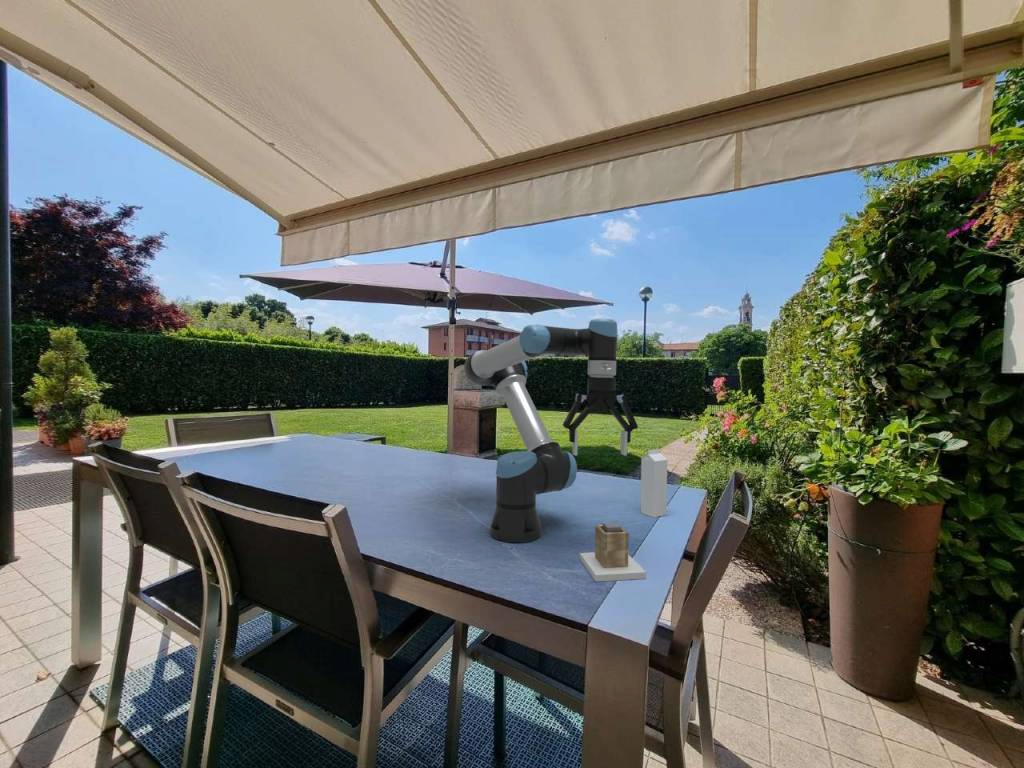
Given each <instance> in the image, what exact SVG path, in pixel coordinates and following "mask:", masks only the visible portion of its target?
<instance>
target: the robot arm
mask: <svg viewBox="0 0 1024 768" xmlns="http://www.w3.org/2000/svg"><path fill="white" fill-rule="evenodd" d="M618 336H619V334H618V323H617V321H616V320H615V319H612V318H593V319H590V321H589V322H588V327H587V328H567V327H558V326H550V325H542V324H529V325H526V326H524V327H523V329H522V330H521V331H520V333H519V335H518V336H515V337H513V338H511V339H509V340H506V341H504V342H503V343H499V344H498V345H495V346H493V347H491V348H489V349H487V350H485V349H481V350H477V351H475V352H473V353H471V354H470V355H468V357H467V358H466V359H465V362H464V374H465V376H466V377H467V378H468V380H469V381H470V382H472V383H473V384H475V385H479V386H484V387H485V386H486V387H487V386H489V387H490V386H491V387H492V386H493V388H494V390H495V392H496V395H499V396H500V397H502V398H503V400H504V402H505V404H506V407H507V408H508V411H509V412H510V415H511V417H512V419H513V422H514V423H515V426H516V428H517V430H518V433H519V435H520V437H521V439H522V441H523V443H524V446H525V449H526V450H520V451H511V452H508V453H505V454H502V455H501V456H500V457H499V458H498V459H497V463H496V469H495V470H496V471H495V475H496V489H495V491H496V493H495V494H496V497H495V500H496V504H495V509H494V513H493V516H492V519H491V523H490V527H489V534H490V533H491V534H490V536H491V535H492V536H494V537H495V538H497V539H499V540H498V541H500V540H503V541H502V542H504V541H508V542H507V543H512V542H521V543H527V542H526V541H529V542H532V540H533V541H536V540H537V539H539V538H540V537H541V536H542V529H543V528H542V527H543V526H542V523H541V521H540V517H539V513H538V511H537V503H536V501H537V495H541V494H547V493H552V492H560V491H562V490H565V489H569V488H570V487H572V486H573V485H574V483H575V480H576V478H577V473H578V464H577V461H576V458H575V457H574V456H578V454H579V453H578V450H579V449H578V444H579V430H577V429H578V427H579V426H580V425H581V424H582V423H583V422H584V420H585V419H586V418H587V417H588V416H589V415H590V413H592V411H595V412H600V411H603V412H608V411H609V412H610V413H611V415H613V417H614V418H615V419H616V421H617V422H618V423H619V424H620V425H621V427H622V428H623V429H622V430H621V429H620V430H621V431H620V454H621V455H622V456H626V457H627V455H628V444H629V443H631V433H632V432H633V430H638V429H639V426H638V424H637V421H636V419H635V417H634V414H633V412H632V410H631V407H630V406H629V404H628V396H627V395H626V394H620V395H616V394H617V393H616V390H617V389H616V388H617V387H616V386H617V385H616V384H617V380H616V378H615V377H614V376H616V375H617V348H618ZM547 354H548V355H561V356H562V355H563V356H568V357H574V356H588V357H587V375H588V378H587V381H586V382H587V389H586V394H585V395H584V394H581V393H576V394H575V397H574V402H573V404H572V406H571V407H570V410H569V411H568V414H567V415H566V417H565V419H564V421H563V423H562V427H563V428H565V429H567V430H568V431H569V432H568V435H569V436H568V437H569V438H568V440H569V442H570V443H572V447H571V448H572V449H571V450H572V451H571V452H572V453H570V452H568V451H566V450H564V451H563V449H562V448H561V446H560V444H559V442H558V441H556V440H555V441H554V440H552V438H551V436H550V435H549V431H548V430H547V427H546V426H545V424H544V422H543V420H542V418H541V416H540V414H539V412H538V410H537V407H536V405H535V404H534V401H533V400H532V398H531V396H530V393H529V392H528V390H527V388H526V384H527V379H528V375H529V374H528V373H529V372H527V371H528V365H527V363H526V361H529V360H531V359H534V358H537V357H540V356H542V355H547ZM584 401H586V402H587V405H586V406H585V407H584V409H583V410H582V411H581V412H580V413H579V415H578V416H576V414H577V412H578V410H579V409H580V406H581V404H582V403H583V402H584ZM616 402H618V403H619V404H620V406H621V409H622V410H623V413H624V415H625V418H626V420H625V418H624V417H623V416H622V414H621V413H620V412H619V410H618V409H617V407H616V406H615V403H616ZM575 416H576V418H575V419H574V417H575ZM573 419H574V420H573ZM627 421H628V422H627ZM492 536H491V537H492ZM495 538H494V539H495ZM497 539H496V540H497Z"/></svg>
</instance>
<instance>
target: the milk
mask: <svg viewBox="0 0 1024 768" xmlns="http://www.w3.org/2000/svg"><path fill="white" fill-rule="evenodd" d="M661 451H662V449H661V448H656V449H655V448H654V449H648V450H647V454H646V455H645V456H642V457H641V460H640V462H641V467H640V468H641V471H640V473H641V475H640V514H643V515H646V516H648V517H650V518H654V519H655V518H660V517H659V516H661V517H664V516H663V515H665V516H667V515H666V514H667V513H668V512H667V511H668V508H667V506H668V505H667V504H668V500H667V499H668V497H667V496H668V459H667V457H665V456H664V455H663V454H662V453H661Z"/></svg>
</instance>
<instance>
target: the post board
mask: <svg viewBox="0 0 1024 768" xmlns="http://www.w3.org/2000/svg"><path fill="white" fill-rule="evenodd" d="M602 525H603V530H604V531H605V532H606V533H612V532H621V527H622V526H621V525H620V524H619V525H620V526H621V527H620V526H619V525H618V523H617V522H603V523H602ZM579 560H580V561H581V563H582V564H583V566H584V568H586V570H587V571H588V573H589V574H590V577H592V579H593V580H594V581H595V582H600V583H601V582H615V581H630V579H633V580H643V579H645V580H646V579H647V571H645V569H644V568H642V566H641V565H640V564H639V563H638V562H637V561H636V560H635V559H634V558H633V557H632V556H631V555H630V554H629V553H628V567H616V568H603V567H602V565H601V564H600V563H599V562H598V560H597V559H596V558H595V551H594V552H579Z"/></svg>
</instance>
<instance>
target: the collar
mask: <svg viewBox="0 0 1024 768" xmlns="http://www.w3.org/2000/svg"><path fill="white" fill-rule="evenodd" d="M617 524H618V523H617ZM618 525H619V526H620V527H621V532H612V533H606V532H605V531H604V530H603V524H595V528H594V529H595V531H594V532H595V534H594V535H595V536H594V541H595V543H594V552H595V558H596V559H597V560H598V562H599V563H600V564H601V565H602V567H603V568H616V567H628V554H629V533H630V532H628V531H627V530H626V529H625V528H623V526H622V525H620V524H618Z"/></svg>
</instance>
